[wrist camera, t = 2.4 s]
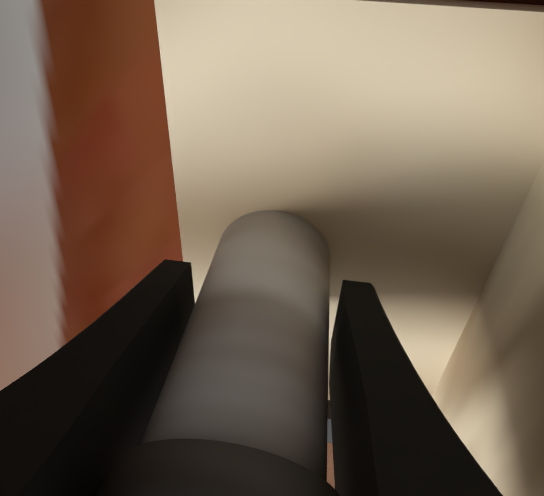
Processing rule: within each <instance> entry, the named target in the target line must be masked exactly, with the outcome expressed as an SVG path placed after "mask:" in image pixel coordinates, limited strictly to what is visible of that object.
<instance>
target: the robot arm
mask: <svg viewBox="0 0 544 496" xmlns="http://www.w3.org/2000/svg"><path fill="white" fill-rule="evenodd" d="M194 305H195V298H194V288H193V278H192V267H191V262H182V261H173V260H164V261H163V262H162V263H160V264H159V265H158V266H157V267H156V268H155V269H153V270H152V271H151V272H150V273H149V274H148V275H147V276H146V277H145V278H144V279H142V280H141V281H140V282H139V283H138V284H137V285H136V286H135V287H134V288H132V289H131V290H130V291H129V292H128V293H127V294H126V295H125V296H123V297H122V298H121V299H120V300H119V301H118V302H117V303H115V304H114V305H113V306H112V307H111V308H110V309H108V310H107V311H106V312H105V313H104V314H103V315H101V316H100V317H99V318H98V319H97V320H96V321H94V322H93V323H92V324H91V325H89V326H88V327H87V328H86V329H84V330H83V331H82V332H81V333H79V334H78V335H77V336H76V337H74V338H73V339H72V340H70V341H69V342H68V343H67V344H65V345H64V346H63V347H61V348H60V349H59V350H58V351H56V352H55V353H54V354H52V355H51V356H50V357H48V358H47V359H46V360H44V361H43V362H41V363H40V364H39V365H37V366H36V367H35V368H33V369H32V370H30V371H29V372H27V373H26V374H25V375H23V376H22V377H20V378H19V379H17V380H16V381H14V382H13V383H11V384H10V385H9V386H7V387H5V388H4V389H2V390H1V391H0V496H97V494H98V491H99V489H100V487H101V485H102V482H103V480H104V478H105V475H106V473H107V471H108V468H109V466H110V464H111V463H112V461H113V460H114V458H116V457H117V456H118V455H119V454H120V453H122V452H123V451H125V450H127V449H129V448H131V447H134V446H137V445H139V444H141V442H142V439H143V437H144V434H145V432H146V429H147V426H148V424H149V421H150V419H151V416H152V414H153V411H154V408H155V406H156V403H157V401H158V398H159V396H160V393H161V390H162V388H163V385H164V383H165V380H166V378H167V375H168V372H169V370H170V367H171V365H172V362H173V360H174V357H175V354H176V352H177V349H178V347H179V344H180V342H181V339H182V336H183V334H184V331H185V329H186V326H187V324H188V321H189V318H190V316H191V313H192V311H193V308H194ZM329 394H330V411H331V428H332V444H333V461H334V477H335V490H336V491H337V492H338V494H339V495H340V496H503V495H502V494H501V492H500V491H499V490H498V488H497V487H496V486H495V485H494V483H493V482H492V481H491V479H490V478H489V477H488V475H487V474H486V473H485V472H484V470H483V469H482V468H481V466H480V465H479V464H478V463H477V461H476V460H475V458H474V457H473V456H472V454H471V453H470V452H469V450H468V449H467V447H466V446H465V445H464V443H463V442H462V441H461V439H460V438H459V436H458V435H457V434H456V432H455V431H454V429H453V428H452V426H451V425H450V423H449V422H448V420H447V419H446V417H445V416H444V414H443V413H442V411H441V410H440V408H439V407H438V405H437V404H436V402H435V401H434V399H433V397H432V396H431V394H430V393H429V391H428V389H427V388H426V386H425V385H424V383H423V381H422V380H421V378H420V376H419V375H418V373H417V371H416V370H415V368H414V366H413V364H412V362H411V361H410V359H409V357H408V355H407V354H406V352H405V350H404V348H403V346H402V345H401V343H400V341H399V339H398V337H397V335H396V333H395V331H394V329H393V327H392V325H391V323H390V321H389V319H388V317H387V315H386V313H385V311H384V309H383V306H382V304H381V302H380V300H379V297H378V295H377V293H376V290H375V288H374V286H373V285H372V284H371V283H367V282H358V281H350V280H343V281H342V286H341V292H340V297H339V302H338V307H337V312H336V317H335V322H334V328H333V333H332V338H331V349H330V369H329Z"/></svg>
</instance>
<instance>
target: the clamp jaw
mask: <svg viewBox="0 0 544 496" xmlns="http://www.w3.org/2000/svg"><path fill="white" fill-rule="evenodd" d="M154 1H155V10H156V19H157V28H158V37H159V46H160V55H161V64H162V73H163V82H164V91H165V100H166V109H167V118H168V127H169V136H170V145H171V154H172V163H173V173H174V182H175V191H176V200H177V209H178V218H179V227H180V236H181V245H182V254H183V262H191V267H192V278H193V288H194V298H195V305H194V308H193V311H192V313H191V316H190V318H189V321H188V324H187V326H186V329H185V331H184V334H183V336H182V339H181V342H180V344H179V347H178V349H177V352H176V354H175V357H174V360H173V362H172V365H171V367H170V370H169V372H168V375H167V378H166V380H165V383H164V385H163V388H162V390H161V393H160V396H159V398H158V401H157V403H156V406H155V408H154V411H153V414H152V416H151V419H150V421H149V424H148V426H147V429H146V432H145V434H144V437H143V439H142V442H141V444H139V445H137V446H134V447H131V448H129V449H127V450H125V451H123V452H122V453H120V454H119V455H118V456H117V457H116V458H114V460H113V461H112V463H111V464H110V466H109V468H108V471H107V473H106V475H105V478H104V480H103V482H102V485H101V487H100V489H99V491H98V494H97V496H340V495H339V494H338V492H337V491H336V490H335V489H334V488H333V487H332V486H331V485H330V484H329V483H327V482H326V480H327V422H328V400H330V394H329V369H330V349H331V338H332V333H333V328H334V322H335V317H336V312H337V307H338V302H339V297H340V292H341V286H342V281H343V280H350V281H358V282H367V283H371V284H372V285H373V286H374V288H375V290H376V293H377V295H378V297H379V300H380V302H381V304H382V306H383V309H384V311H385V313H386V315H387V317H388V319H389V321H390V323H391V325H392V327H393V329H394V331H395V333H396V335H397V337H398V339H399V341H400V343H401V345H402V346H403V348H404V350H405V352H406V354H407V355H408V357H409V359H410V361H411V362H412V364H413V366H414V368H415V370H416V371H417V373H418V375H419V376H420V378H421V380H422V381H423V383H424V385H425V386H426V388H427V389H428V391H429V393H430V394H431V396H432V397H433V399H434V401H435V402H436V404H437V405H438V407H439V408H440V410H441V411H442V413H443V414H444V416H445V417H446V419H447V420H448V422H449V423H450V425H451V426H452V428H453V429H454V431H455V432H456V434H457V435H458V436H459V438H460V439H461V441H462V442H463V443H464V445H465V446H466V447H467V449H468V450H469V452H470V453H471V454H472V456H473V457H474V458H475V460H476V461H477V463H478V464H479V465H480V466H481V468H482V469H483V470H484V472H485V473H486V474H487V475H488V477H489V478H490V479H491V481H492V482H493V483H494V485H495V486H496V487H497V488H498V490H499V491H500V492H501V494H502V495H503V496H544V5H529V4H513V3H497V2H481V1H465V0H154Z"/></svg>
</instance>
